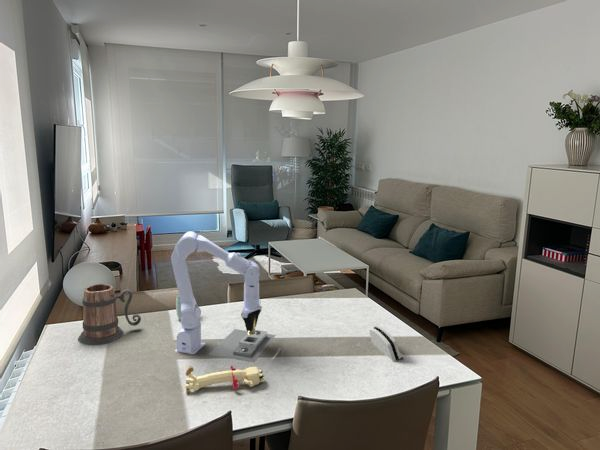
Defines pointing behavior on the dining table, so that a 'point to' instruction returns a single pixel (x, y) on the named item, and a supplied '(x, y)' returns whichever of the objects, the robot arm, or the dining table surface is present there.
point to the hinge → (385, 343)
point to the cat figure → (224, 378)
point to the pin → (252, 330)
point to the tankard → (103, 315)
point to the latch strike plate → (250, 343)
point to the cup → (178, 307)
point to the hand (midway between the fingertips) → (251, 328)
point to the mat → (232, 343)
